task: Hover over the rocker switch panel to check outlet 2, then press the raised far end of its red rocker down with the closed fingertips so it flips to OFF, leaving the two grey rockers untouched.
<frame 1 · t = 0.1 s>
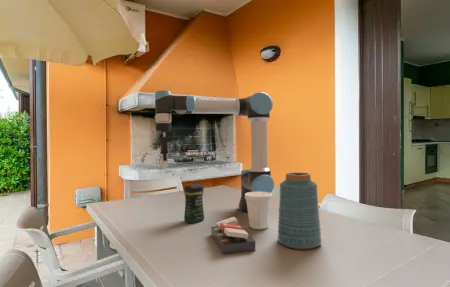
hand: (164, 166, 132), 28 cm above the table, fingers open, 13 cm apart
rocker 2: (231, 227, 107), point 6 cm above the table, hinge at -13.0°
rocker switch panel: (231, 242, 107), on the table
coffee jar: (194, 221, 136), on the table
cup: (258, 227, 125), on the table
vase: (299, 242, 105), on the table
rocker 3: (236, 232, 100), point 6 cm above the table, hinge at -13.0°
rocker 1: (227, 222, 113), point 6 cm above the table, hinge at 13.0°
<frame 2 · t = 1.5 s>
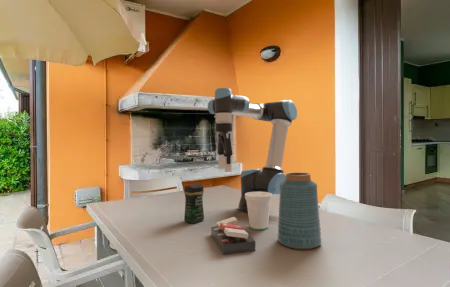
hand: (224, 170, 122), 27 cm above the table, fingers open, 13 cm apart
nothing on the table moved.
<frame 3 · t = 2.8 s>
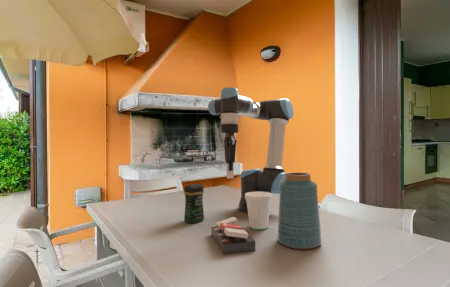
hand: (230, 178, 118), 24 cm above the table, fingers closed
nothing on the table moved.
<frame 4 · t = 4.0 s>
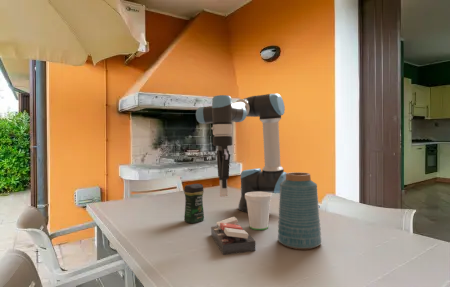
hand: (223, 196, 106), 18 cm above the table, fingers closed
nothing on the table moved.
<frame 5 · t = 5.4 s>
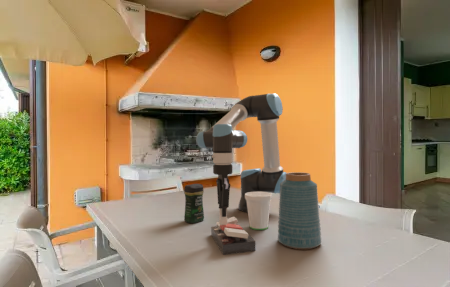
hand: (223, 224, 106), 7 cm above the table, fingers closed
rocker 2: (231, 227, 107), point 6 cm above the table, hinge at -11.8°, touching gripper
everything else where it was.
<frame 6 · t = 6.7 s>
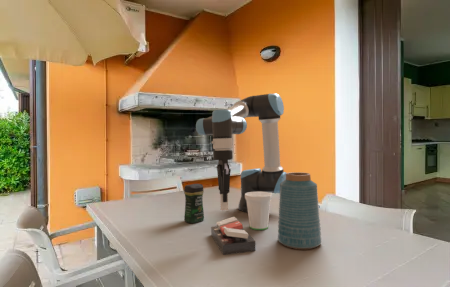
hand: (224, 209, 106), 13 cm above the table, fingers closed
rocker 2: (231, 227, 107), point 6 cm above the table, hinge at 11.4°
everything else where it was.
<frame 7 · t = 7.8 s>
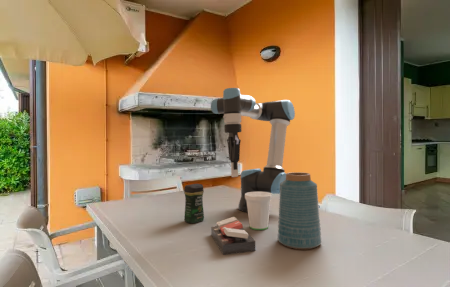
hand: (234, 176, 121), 24 cm above the table, fingers closed
rocker 2: (231, 227, 107), point 6 cm above the table, hinge at 15.0°
everything else where it was.
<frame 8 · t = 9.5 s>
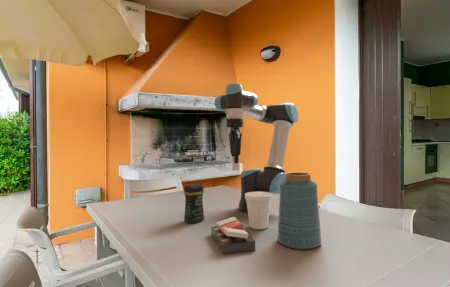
hand: (235, 170, 124), 26 cm above the table, fingers closed
rocker 2: (231, 227, 107), point 6 cm above the table, hinge at 16.2°
everything else where it was.
at the end: rocker 2 at +16° (first picture: -13°); rocker 3 at -13° (first picture: -13°); rocker 1 at +13° (first picture: +13°) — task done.
